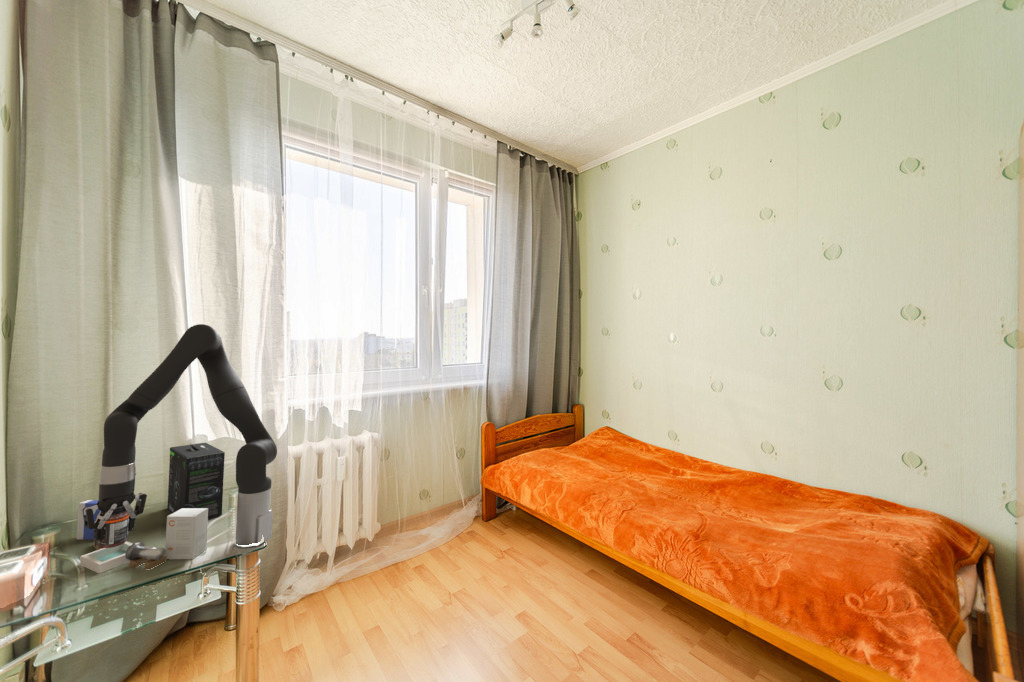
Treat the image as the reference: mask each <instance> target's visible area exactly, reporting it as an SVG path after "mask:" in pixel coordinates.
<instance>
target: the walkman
mask: <svg viewBox="0 0 1024 682" xmlns="http://www.w3.org/2000/svg"><path fill="white" fill-rule="evenodd" d="M98 500H99V499H88V500H84V501H81V502H79V503H78V514H77V515H78V516H77V527H76V528H77V529H76V540H94V538H93V537H94V529H89V528H86V527H85V525H84V518H83V511H82V510H83V508H85V507H88V508H89V507H92V506H94V505H96V504H97V502H98ZM99 513H100V510H99V509H97V510H96V512H95V514H93V516H94V523H95V521H96V520H97V516H98V514H99Z"/></svg>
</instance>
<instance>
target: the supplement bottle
mask: <svg viewBox="0 0 1024 682" xmlns="http://www.w3.org/2000/svg"><path fill="white" fill-rule="evenodd" d="M124 509H125V508H124V506H119V507H116V508H115V510H114V511H113V512H112V514H111V516H110V517H109V519H108V520H106V522H105V524H104V526H103V528H104V533H103V540H102V541H100V543H99V544H100V547H101V548H112V547H116V546H119V545H122V544H124V543H125V542H126V541H127V542H128V537H129V532H128V526H129V513H128V512H127V511H126V510H125V511H124Z"/></svg>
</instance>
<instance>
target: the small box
mask: <svg viewBox="0 0 1024 682" xmlns="http://www.w3.org/2000/svg"><path fill="white" fill-rule="evenodd" d="M208 521H209V519H208V508H182V509H180V510H178V511H176V512H174V513H172V514H171V513H170V514H168V515H167V516H166V529H165V531H166V532H165V545H164V547H165V548H164V549H165V550H166V552H165V555H166V559H169V560H194V559H195V558H196V557H198V556H199V555H200V554H202V553H203V552H204V551H206V550H207V546H208V544H207V543H208V523H209V522H208ZM201 552H202V553H201ZM194 557H195V558H194ZM193 558H194V559H193Z"/></svg>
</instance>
